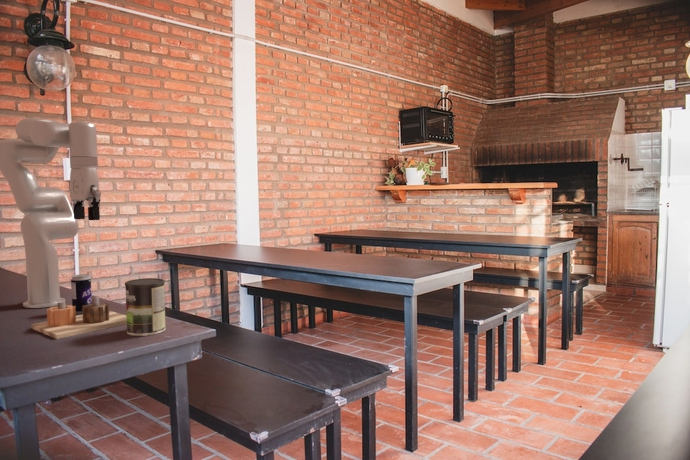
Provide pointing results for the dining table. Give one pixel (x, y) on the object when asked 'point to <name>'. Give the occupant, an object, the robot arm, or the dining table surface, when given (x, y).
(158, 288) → the coffee can
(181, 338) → the dining table surface
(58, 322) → the loose gear
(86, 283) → the beverage can
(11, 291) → the dining table surface
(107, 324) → the gear board
